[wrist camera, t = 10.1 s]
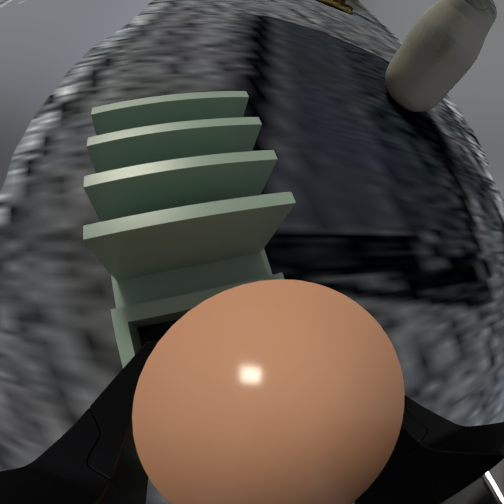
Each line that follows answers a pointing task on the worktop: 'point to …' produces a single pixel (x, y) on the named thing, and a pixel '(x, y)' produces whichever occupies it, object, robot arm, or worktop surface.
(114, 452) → the robot arm
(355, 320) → the orange rounded blob
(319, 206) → the worktop surface
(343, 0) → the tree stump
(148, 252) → the dish rack
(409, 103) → the glass bottle
